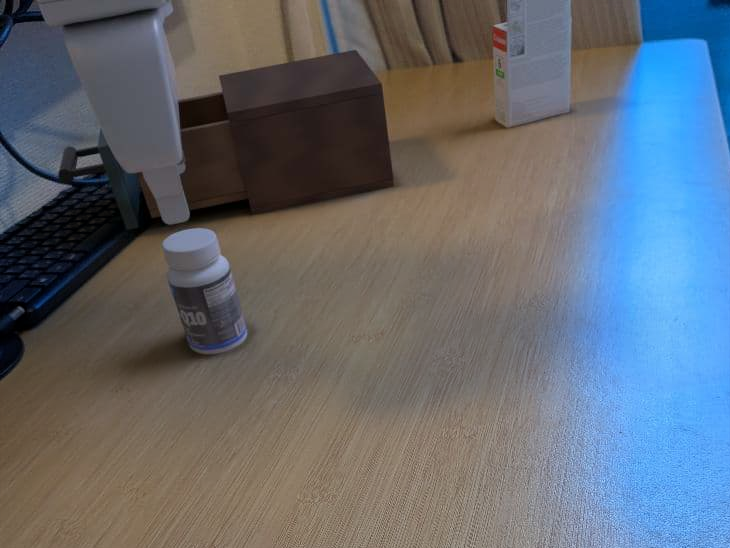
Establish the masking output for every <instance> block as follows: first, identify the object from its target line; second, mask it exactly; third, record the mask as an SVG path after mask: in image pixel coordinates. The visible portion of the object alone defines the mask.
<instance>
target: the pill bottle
mask: <svg viewBox="0 0 730 548" xmlns="http://www.w3.org/2000/svg"><path fill="white" fill-rule="evenodd" d="M161 248H162V251H163V254H164V260H165V262H166V263H167V266H168V268H167V270H166V279H167V283H168V286H169V288H170V292H171V294H172V296H173V301H174V304H175V307H176V310H177V312H178V315H179V319H180V322H181V325H182V328H183V331H184V334H185V337H186V341H187V343H188V345H189V347H190V348H191V349H192V351H194V352H196V353H198V354H200V355H201V354H202V355H217V354H222V353H226V352H228V351H230V350H233V349H235V348H237V347H239V346H240V345H241V344H243V343H244V342H245V341H246V339H247V336H248V330H247V326H246V322H245V318H244V314H243V311H242V306H241V301H240V299H239V296H238V293H237V288H236V285H235V280H234V277H233V273H232V269H231V266H230V263H229V261H228V259H227V258H226V257H225V256H223V255H222V252H221V248H220V243H219V241H218V237H217V234H216V232H215V231H213V230H211V229H208V228H204V227H203V228H202V227H201V228H200V227H196V228H188V229H183V230H180V231H177V232H174V233H172V234H170V235H169V236H167V237H166V238H165V239H164V240H163V241H162V244H161Z"/></svg>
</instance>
